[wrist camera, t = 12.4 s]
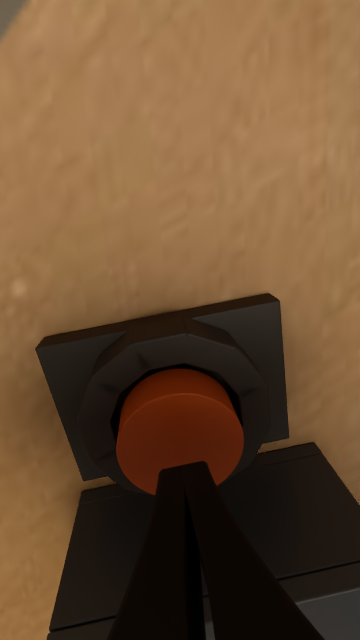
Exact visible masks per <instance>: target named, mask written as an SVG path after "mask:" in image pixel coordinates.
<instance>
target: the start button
mask: <svg viewBox="0 0 360 640" xmlns="http://www.w3.org/2000/svg"><path fill="white" fill-rule="evenodd" d="M243 446H244V435H243V430H242V427H241V424H240V422H239V419H238V417H237V415H236V412H235V410H234V408H233V405H232V403H231V401H230V398H229V396H228V394H227V393H226V391H225V389H224V388H223V387H222V386H221V385H220V384H219V383H218V382H217V381H216V380H215V379H213V378H212V377H210V376H208V375H206V374H204V373H202V372H199V371H195V370H191V369H169V370H164V371H160V372H157V373H155V374H152V375H150V376H149V377H147V378H145V379H144V380H142V381H141V382H139V383H138V384H137V385H136V386H135V387H134V388H133V389H132V390H131V392H130V393H129V394H128V396H127V397H126V399H125V401H124V404H123V406H122V410H121V416H120V423H119V430H118V438H117V446H116V452H117V459H118V462H119V465H120V467H121V469H122V471H123V473H124V474H125V476H126V477H127V478H128V479H129V480H130V481H131V482H132V483H133V484H134V485H136V486H137V487H138V488H140V489H142V490H144V491H146V492H148V493H150V494H153V495H155V493H156V488H157V482H158V475H159V472H160V471H161V470H162V469H165V468H170V467H175V466H180V465H185V464H189V463H194V462H199V461H205V462H206V463H207V464H208V467H209V470H210V472H211V475H212V477H213V479H214V482H215V484H216V486H217V485H219V484H220V483H221V482H223V481H224V480H225V479H226V478H227V477H228V476H229V475H230V474H231V473H232V472H233V470H234V469H235V468H236V466H237V464H238V463H239V460H240V458H241V455H242V452H243Z"/></svg>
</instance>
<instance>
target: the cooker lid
mask: <svg viewBox="0 0 360 640" xmlns="http://www.w3.org/2000/svg"><path fill="white" fill-rule="evenodd" d="M278 582H279V583H280V585H281V586H282V587H283V589H284V590H285V591H286V592H287V594H288V595H289V596H290V598H291V599H292V600H293V601H294V603H295V604H296V605H297V606H298V608H299V609H300V610H301V611H302V613H303V614H304V615H305V616H306V617H307V619H308V620H309V621H310V622H311V623H312V625H313V626H314V627H315V628H316V630H317V631H318V632H319V633H320V634H321V636H322V637H323V638H324V639H325V640H360V562H358V563H353V564H349V565H345V566H340V567H336V568H332V569H327V570H323V571H318V572H314V573H310V574H305V575H301V576H296V577H292V578H288V579H283V580H279V581H278ZM203 604H204V617H205V631H206V640H215V636H214V629H213V622H212V615H211V608H210V602H209V597H204V598H203ZM114 620H115V618H112V619H108V620H103V621H99V622H95V623H90V624H86V625H81V626H77V627H73V628H68V629H64V630H60V631H55V632H51V633H49V634H48V636H47V640H106V639H107V637H108V635H109V632H110V630H111V627H112V625H113V623H114Z"/></svg>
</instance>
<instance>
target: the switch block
mask: <svg viewBox="0 0 360 640" xmlns="http://www.w3.org/2000/svg"><path fill="white" fill-rule="evenodd" d="M35 350H36V352H37V355H38V358H39V361H40V363H41V366H42V369H43V372H44V374H45V377H46V380H47V383H48V385H49V388H50V391H51V394H52V397H53V399H54V402H55V405H56V408H57V410H58V413H59V416H60V419H61V421H62V424H63V427H64V430H65V432H66V435H67V438H68V441H69V443H70V446H71V449H72V452H73V454H74V457H75V460H76V463H77V465H78V468H79V471H80V474H81V476H82V479H83V481H87V480H92V479H97V478H102V477H106V476H108V477H109V478H111V479H112V480H113V481H115V482H116V483H117V484H118V485H120V486H121V487H122V488H123V489H126V490H129V491H134V492H139V493H145V494H150V493H148V492H146V491H144V490H142V489H140V488H138V487H137V486H136V485H134V484H133V483H132V482H131V481H130V480H129V479H128V478H127V477H126V476H125V474H124V473H123V471H122V469H121V467H120V465H119V462H118V459H117V452H116V446H117V438H118V430H119V423H120V416H121V410H122V406H123V404H124V401H125V399H126V397H127V396H128V394H129V393H130V392H131V390H132V389H133V388H134V387H135V386H136V385H137V384H138V383H139V382H141V381H142V380H144V379H145V378H147V377H149V376H150V375H152V374H155V373H157V372H160V371H164V370H169V369H191V370H195V371H199V372H202V373H204V374H206V375H208V376H210V377H212V378H213V379H215V380H216V381H217V382H218V383H219V384H220V385H221V386H222V387H223V388H224V389H225V391H226V393H227V394H228V396H229V398H230V401H231V403H232V405H233V408H234V410H235V412H236V415H237V417H238V419H239V422H240V424H241V427H242V430H243V435H244V446H243V452H242V455H241V458H240V460H239V463H238V464H237V466H236V468H235V469H234V470H233V472H232V473H231V474H230V475H229V476H228V477H227V478H226V479H225V480H224V481H223V482H221V483H220V484H219V485H217V487H219V486H220V485H222V484H223V483H224V482H226V481H227V480H229V479H230V478H231V477H233V476H234V475H236V474H237V473H238V472H240V471H241V470H243V469H244V468H245V467H247V466H248V465H250V464H251V462H252V461H253V459H254V457H255V456H256V454H257V452H258V450H259V448H260V446H261V444H263V443H268V442H273V441H278V440H282V439H287V438H289V427H288V412H287V398H286V383H285V369H284V354H283V340H282V325H281V310H280V301H279V300H278V299H277V298H275V297H274V296H272V295H271V294H264V295H259V296H254V297H248V298H243V299H238V300H233V301H228V302H223V303H218V304H213V305H207V306H202V307H197V308H192V309H187V310H182V311H177V312H172V313H166V314H161V315H156V316H151V317H146V318H141V319H136V320H131V321H126V322H120V323H115V324H110V325H105V326H100V327H95V328H90V329H85V330H79V331H74V332H69V333H64V334H59V335H54V336H49V337H44V338H43V340H42V341H41V342H40V343H39V344H38V346H37V347H36V348H35ZM150 495H153V494H150Z"/></svg>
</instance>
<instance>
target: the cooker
mask: <svg viewBox="0 0 360 640" xmlns="http://www.w3.org/2000/svg"><path fill="white" fill-rule="evenodd" d="M217 488H218V490H219V492H220V494H221V495H222V497H223V499H224V501H225V503H226V505H227V506H228V508H229V510H230V511H231V513H232V515H233V516H234V518H235V519H236V521H237V523H238V524H239V526H240V528H241V529H242V531H243V532H244V534H245V535H246V537H247V538H248V540H249V541H250V543H251V544H252V546H253V547H254V549H255V550H256V552H257V553H258V554H259V556H260V557H261V559H262V560H263V562H264V563H265V564H266V566H267V567H268V569H269V570H270V571H271V573H272V574H273V575H274V577H275V578H276V579H277V581H279V580H283V579H288V578H292V577H296V576H301V575H305V574H310V573H314V572H318V571H323V570H327V569H332V568H336V567H340V566H345V565H349V564H353V563H358V562H360V505H359V504H358V503H357V501H356V500H355V498H354V497H353V496H352V494H351V493H350V491H349V490H348V489H347V487H346V486H345V484H344V483H343V482H342V480H341V479H340V477H339V476H338V475H337V473H336V472H335V470H334V469H333V468H332V466H331V465H330V463H329V462H328V461H327V459H326V458H325V457H324V455H323V454H322V452H321V451H320V449H319V448H318V447H317V445H316V444H315V443H310V444H306V445H301V446H296V447H291V448H287V449H282V450H277V451H272V452H268V453H263V454H258V455H256V456H255V457H254V459H253V461H252V462H251V464H250V465H248V466H247V467H245V468H244V469H243V470H241V471H240V472H238V473H237V474H236V475H234V476H233V477H231V478H230V479H229V480H227V481H226V482H224V483H223V484H222V485H220V486H219V487H217ZM154 498H155V495H150V494H145V493H139V492H134V491H129V490H126V489H123V488H122V487H121V486H120V485H118V484H116V485H111V486H107V487H102V488H97V489H92V490H88V491H83V492H81V496H80V500H79V506H78V509H77V514H76V518H75V522H74V526H73V530H72V535H71V539H70V543H69V547H68V551H67V555H66V560H65V564H64V568H63V572H62V576H61V581H60V585H59V589H58V593H57V597H56V602H55V606H54V610H53V614H52V618H51V622H50V627H49V631H50V633H51V632H55V631H60V630H64V629H68V628H73V627H77V626H81V625H86V624H90V623H95V622H99V621H103V620H108V619H112V618H116V615H117V613H118V610H119V608H120V605H121V602H122V600H123V597H124V595H125V592H126V589H127V586H128V584H129V581H130V578H131V575H132V572H133V569H134V566H135V563H136V560H137V558H138V555H139V552H140V549H141V545H142V542H143V539H144V535H145V532H146V528H147V525H148V521H149V518H150V514H151V510H152V506H153V502H154ZM200 564H201V577H202V590H203V598H204V597H209V595H208V589H207V584H206V580H205V576H204V572H203V567H202V563H201V559H200Z"/></svg>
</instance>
